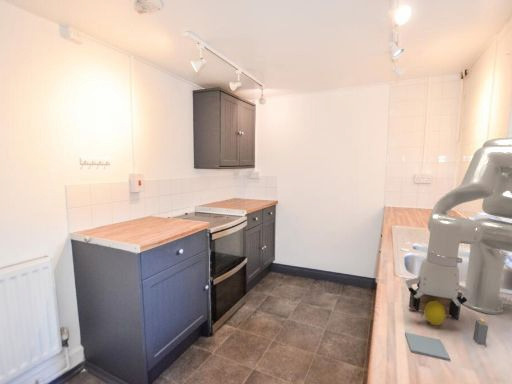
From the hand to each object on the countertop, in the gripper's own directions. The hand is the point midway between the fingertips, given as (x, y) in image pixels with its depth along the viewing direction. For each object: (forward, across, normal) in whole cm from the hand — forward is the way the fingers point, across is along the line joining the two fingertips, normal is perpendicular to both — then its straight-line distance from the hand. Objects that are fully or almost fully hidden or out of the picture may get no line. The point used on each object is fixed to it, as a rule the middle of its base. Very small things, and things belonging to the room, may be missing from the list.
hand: (433, 312), depth 84 cm
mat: (+5, +4, +12) cm, 14 cm away
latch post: (+4, -11, +4) cm, 12 cm away
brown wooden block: (+3, -1, -8) cm, 8 cm away
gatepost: (+4, -9, -8) cm, 12 cm away
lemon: (+5, -1, -1) cm, 5 cm away
